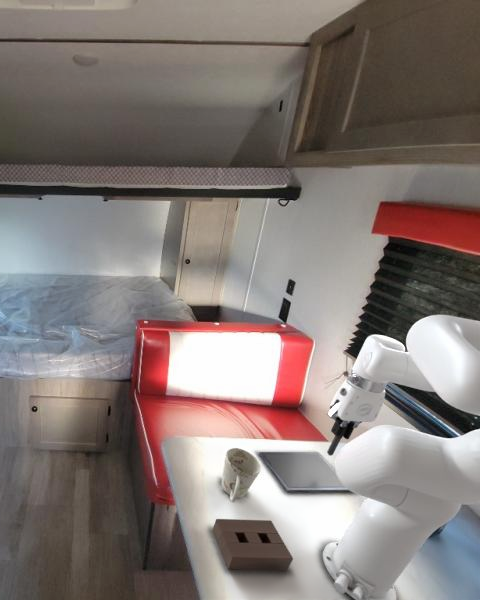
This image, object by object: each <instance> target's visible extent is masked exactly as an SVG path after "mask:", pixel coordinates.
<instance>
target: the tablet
mask: <svg viewBox="0 0 480 600" xmlns="http://www.w3.org/2000/svg"><path fill="white" fill-rule="evenodd" d="M258 455H259V456H260V458H262V460H263V462H264V463H265V464H266V465H267V467H268V469H269V470H270V472H271V473H272V474H273V476H274V477H275V478H276V479H277V481H278V482H279V484H280V485H281V487H282V488H283V490H284V491H285V492H286V493H326V492H327V493H340V492H341V493H347V492H348V493H349V492H351V493H353V492H352V491H350V490H348V489H347V488H346V487H345V486H343V484H342V483H341V482H340V481H339V479H338V477H337V475H336V471H335V468H334V467H333V466H332V465H331V464H330V463H329V462H328V461H327V459H325V457H324V456H323V455H321V453H320V452H302V451H301V452H293V451H291V452H290V451H288V452H287V451H259V452H258Z"/></svg>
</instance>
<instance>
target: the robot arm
mask: <svg viewBox="0 0 480 600" xmlns="http://www.w3.org/2000/svg"><path fill="white" fill-rule="evenodd" d="M405 346H406V347H405ZM406 350H407V351H406ZM389 383H392V384H397V385H401V386H404V387H409V388H412V389H417V390H420V391H424V392H431V393H436V395H438V397H439V398H441V400H443V401H444V402H445V403H446V404H448V405H449V406H451V407H453V408H455V409H457V410H460V411H462V412H464V413H467V414H471V415H475V416H479V417H480V320H475V319H470V318H464V317H459V316H455V315H449V314H433V315H428V316H426V317H423V318H421V319H419V320H418V321H416V322H415V323H414V324H413V325H412V326H411V327H410V329H409V330H408V332H407V335H406V339H405V345H404V344H403V343H402V342H400V341H399V340H397V339H395V338H392V337H389V336H386V335H381V334H370V335H368V336H367V337H366V339H365V340H364V343H363V344H362V347H361V349H360V350H359V353H358V355H357V357H356V360H355V361H354V363H353V365H352V368H351V369H350V372H349V374H348V375H346V379H345V380H344V382H343V383H342V384H341V385H340V387H339V388H338V389H337V391H336V393H335V394H334V396H333V398H332V400H331V401H330V405H329V409H330V410H329V411H328V412H327V413H326V415H327V416H328V418H330V419H332V420H334V423H333V425H332V427H331V429H330V432H331V433H332V434H333V435H334V437H335V436H336V437H337V438H338V439H343V438H344V439H345V440H349V439H350V438H351V435H353V432H354V430H355V429H357V428H358V427H359V425H360V424H363V423H372V422H374V421H376V419H377V417H378V415H379V414H380V411H381V409H382V407H383V404H384V402H385V397H386V392H387V391H386V388H387V386H388V384H389ZM348 421H350V422H349V424H348V426H347V428H346V427H345V426H346V424H347V422H348ZM334 470H335V471H336V475H337V477H338V479H339V481H340V482H341V483H342V484H343V486H345V487H346V488H347V489H348V490H350V491H352V492H351V493H354V494H357V495H359V496H361V497H363V498H365V499H364V501H363V502H362V503H361V505H360V506H359V508H358V509H357V511H356V513H355V514H354V516H353V518H352V520H351V521H350V523H349V525H348V526H347V529H346V530H345V532H344V534H343V535H342V537H341V539H340V541H332V542H329V543H327V544H326V546H325V547H324V548H323V551H322V560H323V563H324V566H325V568H326V570H327V572H328V573H329V575H330V577H331V578H332V580H334V582H333V588H334V589H335V590H336V591H337V592H338V593H340V594H345V593H346V594H348V596H349V597H350V598H352V599H353V600H397V598H398V597H397V591H396V587H395V583H396V581H397V580H398V579H399V577H400V576H401V575H402V573H403V572H404V571H405V569H406V568H407V566H409V563H411V561H412V559H414V557H415V556H416V555H417V553H418V551H419V550H420V549H421V548H422V546H424V544H425V542H426V541H427V540H428V539H429V538H430V536H432V535H431V534H432V533H433V532H434V531H435V530H437V529H438V528H439V527H441V526H442V525H444V524H445V523H447V522H448V521H449V522H450V521H451V520H452V519H454V518H455V516H456V515H457V514H458V513H459V511H460V510H461V507H462V505H465V506H466V505H468V506H471V505H480V428H478V429H474V430H471V431H469V432H467V433H465V434H462V435H459V436H456V437H451V438H450V437H449V438H447V437H442V436H437V435H432V434H429V433H426V432H421V431H418V430H414V429H411V428H407V427H403V426H399V425H393V424H380V425H376V426H374V427H371V428H370V429H368V430H366V431H365V432H363V433H362V434H360V435H358V436H357V437H355V438H353V439H352V440H350V441H348V442H347V443H346V444H344V445H343V446H342V447H341V448H340V450H339V451H338V452H337V455H336V457H335V460H334ZM449 522H448V523H449Z"/></svg>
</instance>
